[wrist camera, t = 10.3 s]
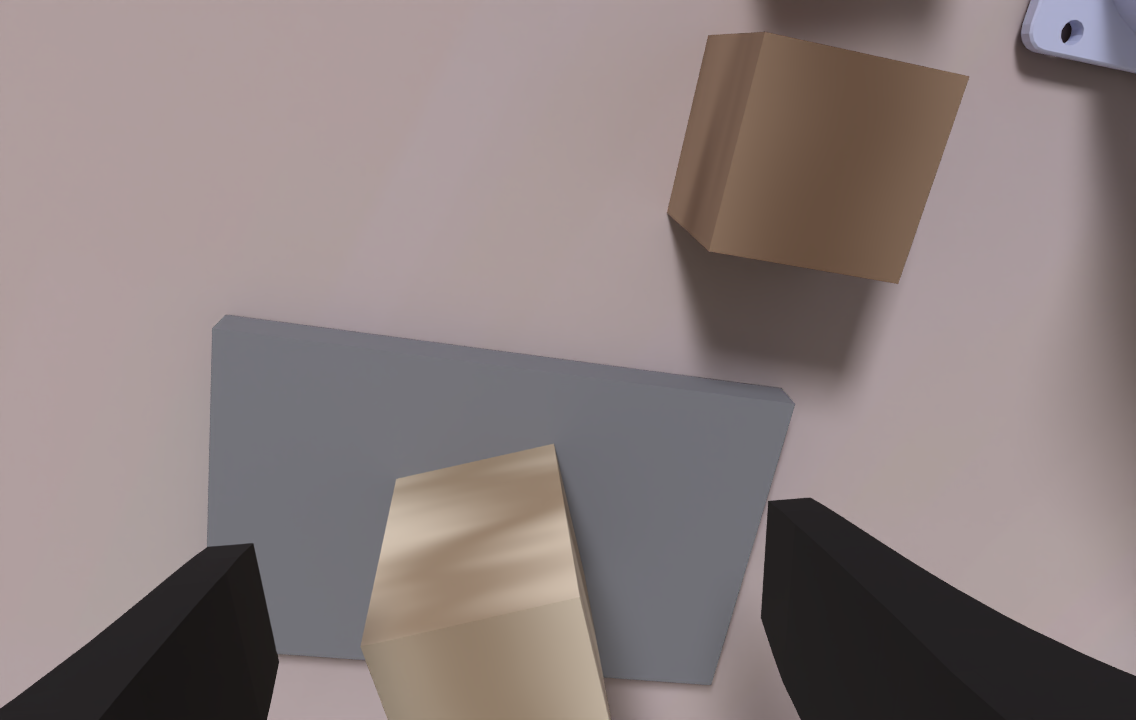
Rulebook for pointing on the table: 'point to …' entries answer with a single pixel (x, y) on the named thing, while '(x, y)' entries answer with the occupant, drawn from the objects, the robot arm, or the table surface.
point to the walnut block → (811, 153)
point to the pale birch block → (483, 598)
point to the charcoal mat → (475, 432)
